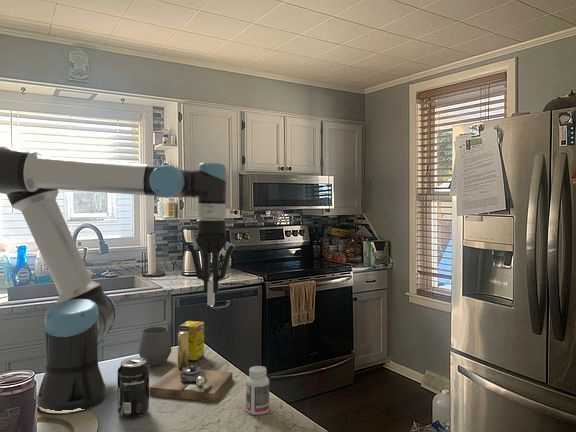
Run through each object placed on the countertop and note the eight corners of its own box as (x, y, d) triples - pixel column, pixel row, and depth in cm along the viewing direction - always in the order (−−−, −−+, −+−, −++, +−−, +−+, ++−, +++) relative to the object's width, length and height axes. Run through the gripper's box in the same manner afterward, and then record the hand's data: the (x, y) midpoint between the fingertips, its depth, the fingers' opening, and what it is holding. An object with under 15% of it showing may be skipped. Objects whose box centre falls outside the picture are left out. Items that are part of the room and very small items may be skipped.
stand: (149, 395, 115) (149, 385, 115) (174, 374, 128) (174, 365, 128) (213, 401, 111) (213, 391, 111) (232, 379, 125) (232, 371, 125)
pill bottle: (272, 406, 109) (272, 365, 109) (264, 417, 104) (265, 374, 103) (250, 403, 110) (250, 363, 110) (242, 413, 105) (242, 371, 105)
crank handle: (214, 386, 115) (214, 348, 114) (189, 391, 112) (189, 351, 111) (192, 363, 130) (192, 329, 130) (170, 367, 127) (170, 332, 127)
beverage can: (128, 405, 109) (128, 355, 108) (154, 408, 107) (154, 357, 107) (111, 419, 102) (111, 365, 102) (139, 422, 101) (139, 368, 100)
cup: (134, 361, 138) (134, 328, 138) (164, 355, 144) (164, 324, 143) (145, 371, 131) (145, 336, 130) (176, 364, 136) (176, 331, 136)
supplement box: (197, 362, 138) (197, 326, 137) (178, 361, 139) (178, 325, 139) (204, 356, 144) (204, 321, 143) (186, 354, 145) (186, 320, 144)
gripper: (185, 219, 123) (184, 306, 124) (233, 220, 123) (232, 308, 124) (191, 218, 131) (190, 300, 131) (237, 219, 130) (236, 301, 131)
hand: (211, 304), depth 128 cm, fingers closed
